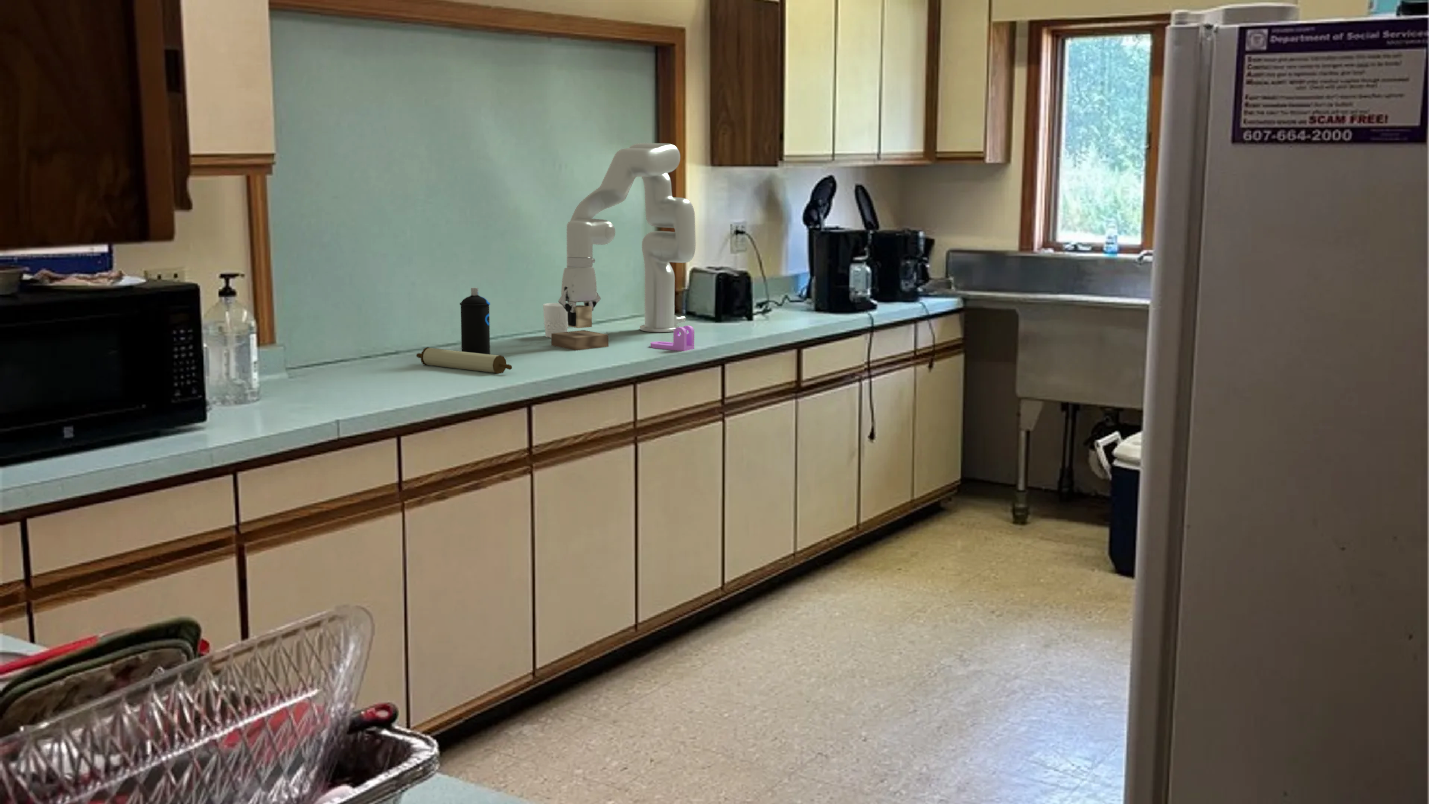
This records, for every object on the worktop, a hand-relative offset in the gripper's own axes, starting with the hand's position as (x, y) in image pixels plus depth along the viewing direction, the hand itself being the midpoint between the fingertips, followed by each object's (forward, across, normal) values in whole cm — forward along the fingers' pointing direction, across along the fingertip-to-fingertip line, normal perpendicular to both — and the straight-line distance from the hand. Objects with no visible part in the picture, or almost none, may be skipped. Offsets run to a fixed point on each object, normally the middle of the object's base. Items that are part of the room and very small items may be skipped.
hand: (579, 324), depth 405 cm
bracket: (+7, -19, +19) cm, 28 cm away
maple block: (+1, 0, 0) cm, 1 cm away
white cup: (+7, -6, -20) cm, 22 cm away
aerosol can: (+7, +39, +4) cm, 40 cm away
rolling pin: (+7, +49, +14) cm, 51 cm away
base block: (+7, 0, 0) cm, 7 cm away
